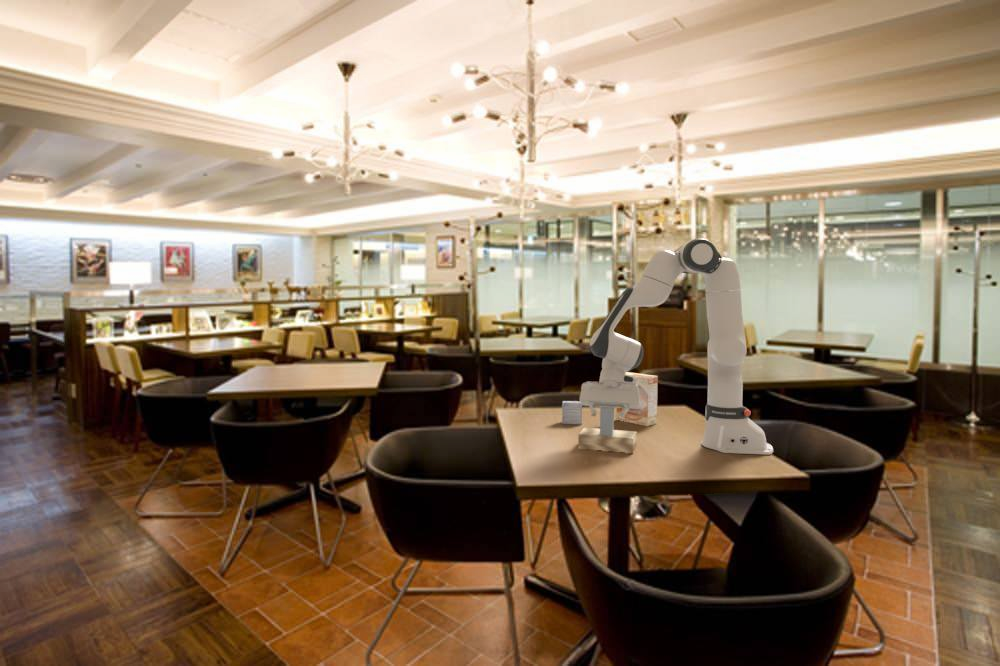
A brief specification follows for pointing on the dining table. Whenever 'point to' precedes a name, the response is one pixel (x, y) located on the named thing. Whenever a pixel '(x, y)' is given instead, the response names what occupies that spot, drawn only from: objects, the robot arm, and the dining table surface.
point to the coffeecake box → (643, 401)
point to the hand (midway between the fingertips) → (607, 416)
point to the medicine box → (571, 412)
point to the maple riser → (607, 440)
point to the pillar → (607, 421)
